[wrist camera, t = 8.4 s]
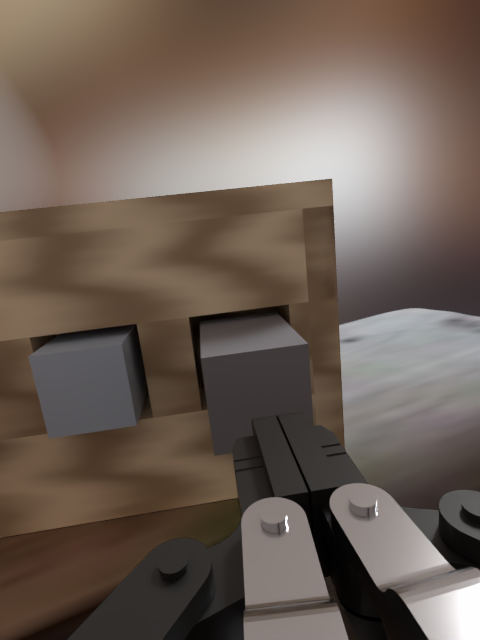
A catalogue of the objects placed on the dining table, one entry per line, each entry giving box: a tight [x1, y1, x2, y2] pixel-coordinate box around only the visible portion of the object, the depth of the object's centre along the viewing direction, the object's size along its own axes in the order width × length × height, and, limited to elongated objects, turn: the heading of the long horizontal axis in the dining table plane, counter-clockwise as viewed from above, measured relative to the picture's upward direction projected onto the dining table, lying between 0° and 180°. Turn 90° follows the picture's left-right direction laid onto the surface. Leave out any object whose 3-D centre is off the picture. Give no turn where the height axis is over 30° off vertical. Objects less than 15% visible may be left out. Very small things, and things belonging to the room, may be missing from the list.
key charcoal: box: [200, 312, 314, 456], centre depth 17 cm, size 4×6×4 cm, turn 6°
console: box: [0, 179, 345, 538], centre depth 23 cm, size 25×9×16 cm, turn 96°
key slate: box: [28, 324, 148, 439], centre depth 20 cm, size 4×6×4 cm, turn 6°
